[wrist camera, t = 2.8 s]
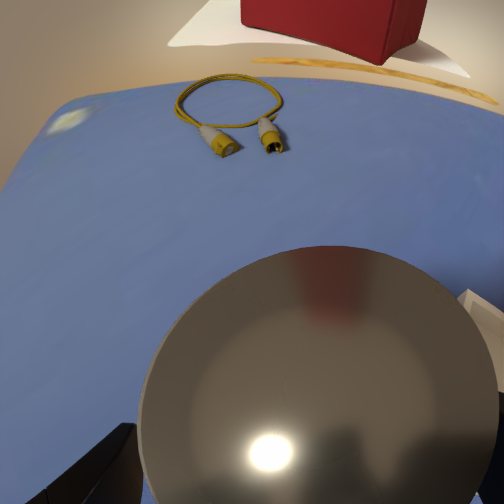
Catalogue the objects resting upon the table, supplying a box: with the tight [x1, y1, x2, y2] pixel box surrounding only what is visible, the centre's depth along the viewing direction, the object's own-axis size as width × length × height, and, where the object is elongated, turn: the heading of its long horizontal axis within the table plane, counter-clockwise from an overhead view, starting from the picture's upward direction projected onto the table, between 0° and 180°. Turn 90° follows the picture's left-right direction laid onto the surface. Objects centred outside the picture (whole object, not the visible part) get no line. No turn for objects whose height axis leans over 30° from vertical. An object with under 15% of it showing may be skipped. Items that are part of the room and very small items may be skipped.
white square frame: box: [457, 289, 504, 495], centre depth 13 cm, size 11×11×2 cm
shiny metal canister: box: [137, 246, 499, 504], centre depth 9 cm, size 5×5×13 cm
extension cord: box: [174, 74, 283, 158], centre depth 30 cm, size 12×16×2 cm
